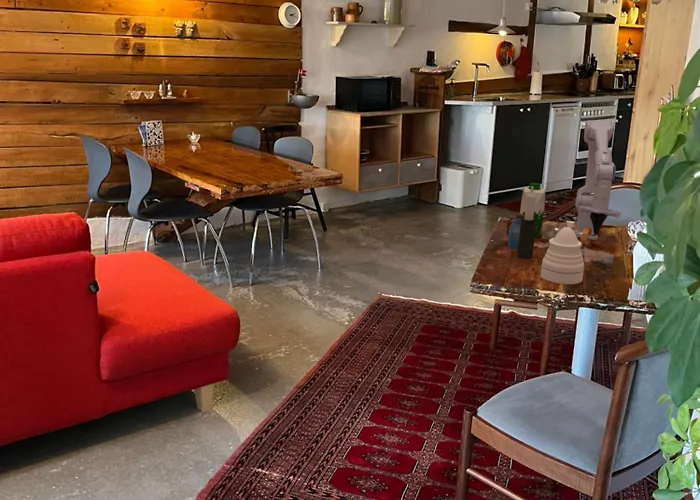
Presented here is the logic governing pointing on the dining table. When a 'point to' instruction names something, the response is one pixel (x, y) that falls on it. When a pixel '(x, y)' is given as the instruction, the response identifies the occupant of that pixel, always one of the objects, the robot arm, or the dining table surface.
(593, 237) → the pipe
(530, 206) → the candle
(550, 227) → the clamp block
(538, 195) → the milk carton
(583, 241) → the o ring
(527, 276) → the dining table surface
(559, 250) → the honey pot
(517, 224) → the perfume bottle
